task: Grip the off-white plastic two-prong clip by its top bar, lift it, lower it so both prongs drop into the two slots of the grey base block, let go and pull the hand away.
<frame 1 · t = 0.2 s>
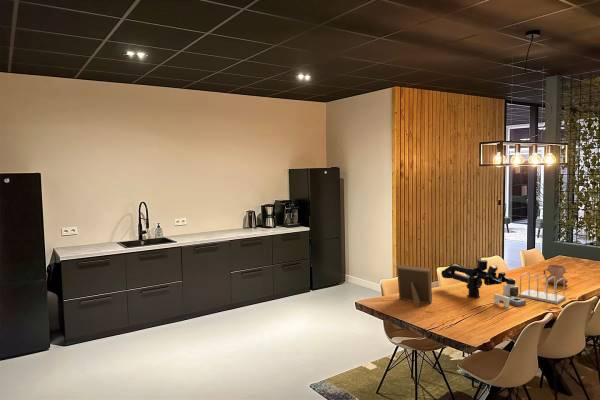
hand: (506, 281, 293), 17 cm above the table, tool horizontal, fingers open, 9 cm apart
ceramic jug: (555, 284, 347), on the table
clip: (501, 305, 297), on the table
photo frame: (413, 303, 304), on the table
grey base block: (511, 302, 303), on the table
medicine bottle: (510, 295, 319), on the table
file sorter: (541, 298, 313), on the table
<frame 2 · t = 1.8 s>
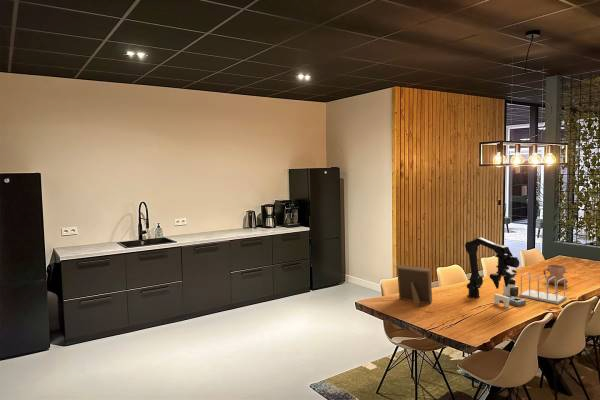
hand: (501, 287, 296), 12 cm above the table, tool pointing down, fingers open, 9 cm apart
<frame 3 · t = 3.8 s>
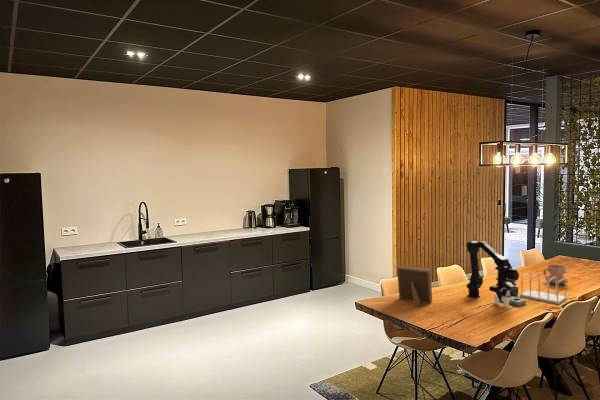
hand: (501, 299, 297), 4 cm above the table, tool pointing down, fingers closed on clip, 3 cm apart
clip: (501, 305, 297), on the table, touching gripper
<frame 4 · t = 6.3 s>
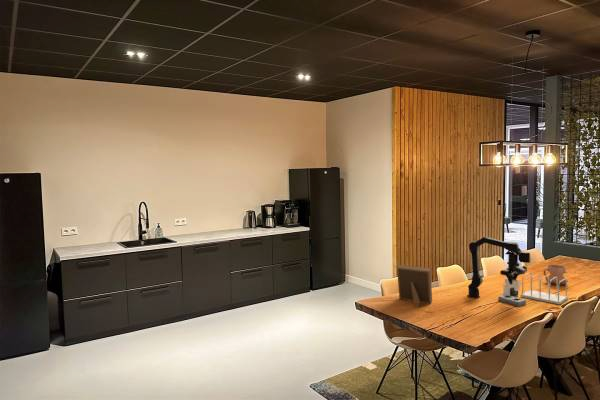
hand: (512, 283, 301), 13 cm above the table, tool pointing down, fingers closed on clip, 3 cm apart
clip: (512, 289, 302), point 9 cm above the table, touching gripper
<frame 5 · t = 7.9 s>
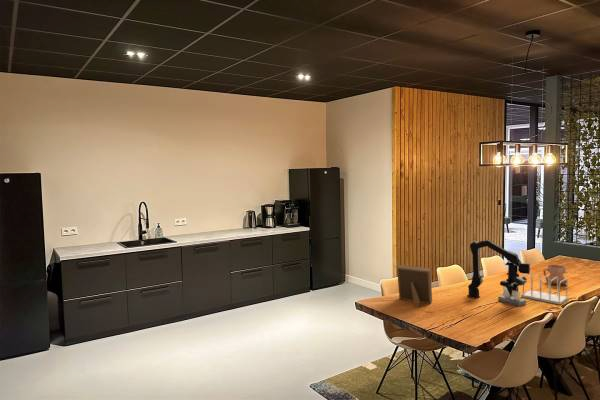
hand: (512, 294, 302), 6 cm above the table, tool pointing down, fingers closed on clip, 3 cm apart
clip: (511, 299, 302), point 2 cm above the table, touching gripper
when the fingers open (5 cm above the table, at t = 8.8 s): clip stays where it is, resting in grey base block.
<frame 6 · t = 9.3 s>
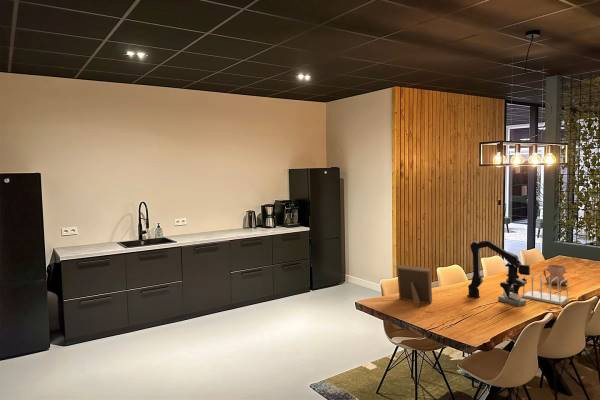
hand: (512, 295, 302), 5 cm above the table, tool pointing down, fingers open, 8 cm apart
clip: (511, 302, 303), resting in grey base block
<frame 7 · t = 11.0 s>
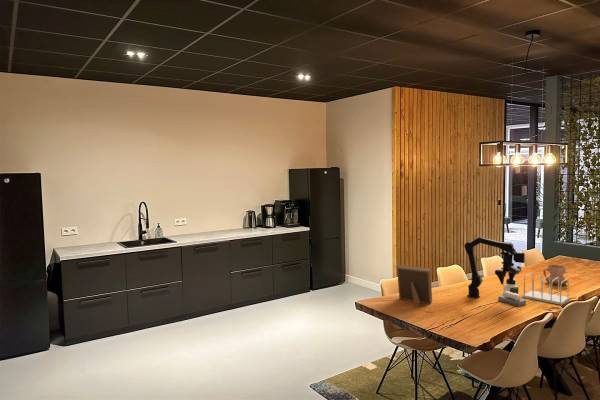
hand: (506, 283, 304), 13 cm above the table, tool pointing down, fingers open, 9 cm apart
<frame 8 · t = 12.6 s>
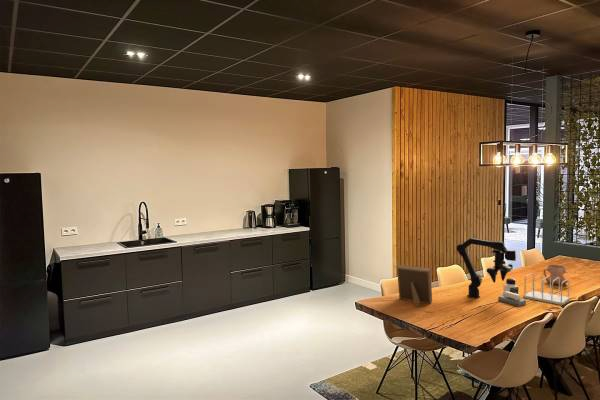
hand: (498, 281, 307), 13 cm above the table, tool pointing down, fingers open, 9 cm apart
at the end: clip 0.0 cm off-centre on the grey base block, point 0.0 cm above the grey base block's base; clip tilted 0°; the gripper is holding nothing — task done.
